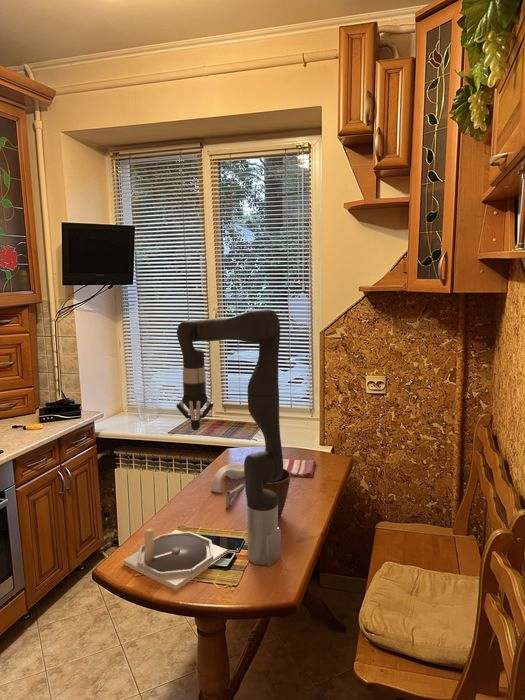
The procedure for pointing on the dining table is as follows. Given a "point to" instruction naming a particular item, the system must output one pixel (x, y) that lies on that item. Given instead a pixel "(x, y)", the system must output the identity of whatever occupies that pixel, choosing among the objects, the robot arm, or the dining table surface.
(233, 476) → the spoon rest
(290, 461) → the dish towel
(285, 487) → the plant pot
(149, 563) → the dial
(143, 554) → the dial plate
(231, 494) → the caliper
